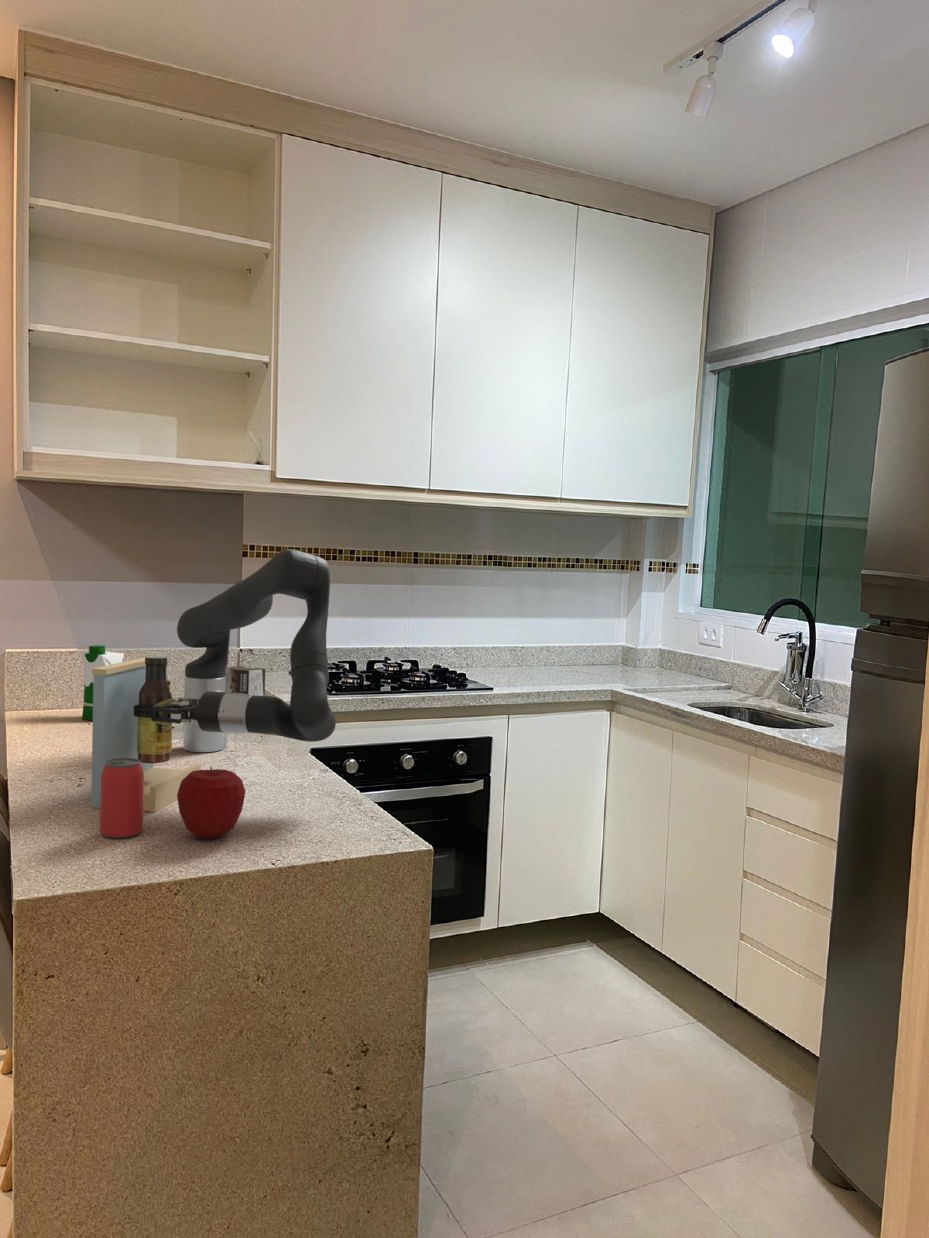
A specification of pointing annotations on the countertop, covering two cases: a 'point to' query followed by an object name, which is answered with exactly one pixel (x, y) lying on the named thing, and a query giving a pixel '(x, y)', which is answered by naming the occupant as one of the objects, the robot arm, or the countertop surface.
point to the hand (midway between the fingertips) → (143, 707)
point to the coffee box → (245, 680)
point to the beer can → (121, 798)
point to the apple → (210, 802)
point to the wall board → (126, 733)
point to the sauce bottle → (158, 735)
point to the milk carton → (90, 661)
